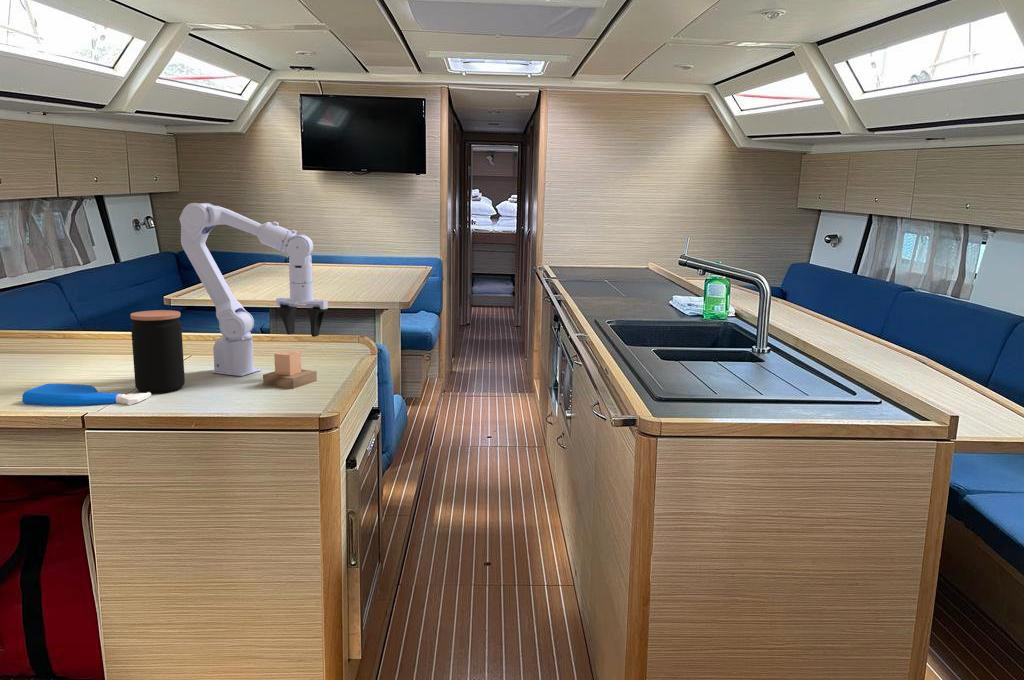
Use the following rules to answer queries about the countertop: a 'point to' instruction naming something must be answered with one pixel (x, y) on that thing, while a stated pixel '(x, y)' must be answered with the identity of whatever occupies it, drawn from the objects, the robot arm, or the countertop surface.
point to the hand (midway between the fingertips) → (302, 335)
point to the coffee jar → (157, 351)
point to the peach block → (287, 363)
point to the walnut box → (290, 379)
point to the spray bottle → (77, 396)
